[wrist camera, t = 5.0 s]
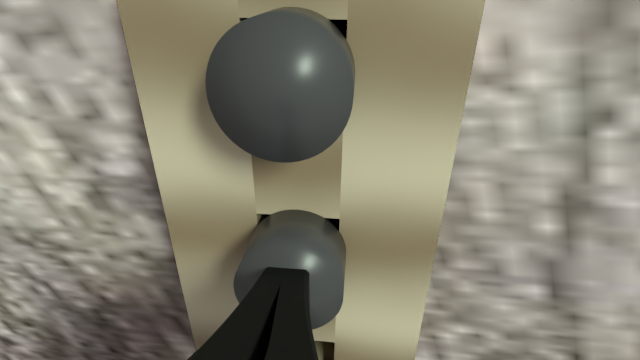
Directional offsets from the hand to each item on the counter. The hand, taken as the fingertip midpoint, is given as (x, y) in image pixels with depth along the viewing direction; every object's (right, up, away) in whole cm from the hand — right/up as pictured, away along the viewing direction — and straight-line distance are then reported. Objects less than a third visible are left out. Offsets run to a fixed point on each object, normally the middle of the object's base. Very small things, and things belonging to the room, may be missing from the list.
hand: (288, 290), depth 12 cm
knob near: (+1, +8, +1) cm, 8 cm away
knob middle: (+1, +2, +4) cm, 5 cm away
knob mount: (+1, +2, +5) cm, 5 cm away
